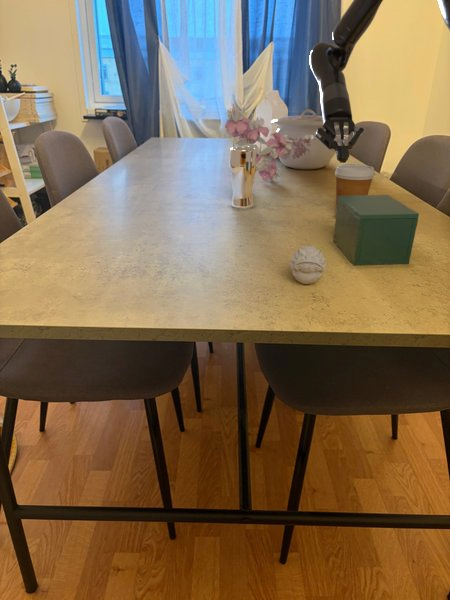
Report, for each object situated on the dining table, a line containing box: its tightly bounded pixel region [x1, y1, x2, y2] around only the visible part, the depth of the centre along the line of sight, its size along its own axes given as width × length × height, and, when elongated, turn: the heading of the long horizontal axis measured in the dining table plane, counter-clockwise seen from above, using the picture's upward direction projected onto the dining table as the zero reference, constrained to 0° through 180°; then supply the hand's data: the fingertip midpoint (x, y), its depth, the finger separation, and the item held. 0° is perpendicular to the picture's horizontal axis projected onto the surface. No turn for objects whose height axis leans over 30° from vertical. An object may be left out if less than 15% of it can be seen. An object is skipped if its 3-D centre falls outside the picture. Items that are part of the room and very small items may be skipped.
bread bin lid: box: [337, 194, 420, 219], centre depth 83 cm, size 14×11×1 cm
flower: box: [224, 103, 292, 182], centre depth 138 cm, size 20×22×25 cm
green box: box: [332, 201, 419, 266], centre depth 85 cm, size 14×11×9 cm
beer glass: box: [229, 146, 257, 209], centre depth 115 cm, size 7×7×15 cm
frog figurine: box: [288, 245, 327, 285], centre depth 72 cm, size 6×7×7 cm
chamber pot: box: [271, 108, 336, 171], centre depth 165 cm, size 28×28×21 cm
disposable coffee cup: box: [334, 163, 376, 214], centre depth 107 cm, size 10×10×12 cm
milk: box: [254, 89, 289, 152], centre depth 202 cm, size 12×12×26 cm
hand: (343, 160), depth 112 cm, fingers closed
